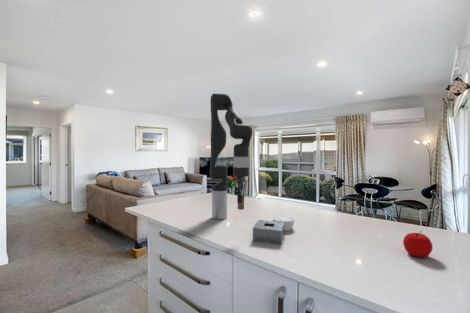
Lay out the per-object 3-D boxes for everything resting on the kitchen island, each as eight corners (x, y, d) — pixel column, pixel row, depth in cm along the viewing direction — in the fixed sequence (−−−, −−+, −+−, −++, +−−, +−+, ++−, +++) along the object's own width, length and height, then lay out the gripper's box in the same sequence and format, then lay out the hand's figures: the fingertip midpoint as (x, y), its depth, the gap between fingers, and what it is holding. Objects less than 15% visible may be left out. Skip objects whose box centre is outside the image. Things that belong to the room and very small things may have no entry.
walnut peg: (238, 207, 112) (238, 187, 112) (244, 208, 112) (244, 187, 111) (236, 209, 110) (237, 188, 109) (243, 209, 109) (243, 188, 108)
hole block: (258, 231, 119) (258, 219, 119) (284, 234, 115) (284, 222, 115) (252, 240, 106) (252, 227, 106) (281, 244, 102) (281, 230, 102)
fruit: (423, 262, 86) (424, 235, 85) (398, 252, 94) (398, 228, 94) (437, 258, 89) (438, 232, 89) (412, 249, 98) (412, 225, 97)
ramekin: (268, 228, 124) (268, 218, 124) (279, 223, 132) (280, 214, 132) (287, 233, 116) (287, 223, 116) (297, 228, 125) (298, 218, 124)
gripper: (237, 165, 118) (237, 199, 118) (228, 167, 105) (228, 205, 105) (252, 165, 116) (251, 200, 116) (244, 167, 102) (244, 206, 103)
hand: (240, 202), depth 110 cm, fingers closed on walnut peg, 3 cm apart
